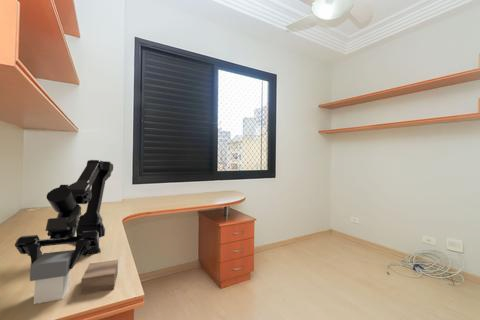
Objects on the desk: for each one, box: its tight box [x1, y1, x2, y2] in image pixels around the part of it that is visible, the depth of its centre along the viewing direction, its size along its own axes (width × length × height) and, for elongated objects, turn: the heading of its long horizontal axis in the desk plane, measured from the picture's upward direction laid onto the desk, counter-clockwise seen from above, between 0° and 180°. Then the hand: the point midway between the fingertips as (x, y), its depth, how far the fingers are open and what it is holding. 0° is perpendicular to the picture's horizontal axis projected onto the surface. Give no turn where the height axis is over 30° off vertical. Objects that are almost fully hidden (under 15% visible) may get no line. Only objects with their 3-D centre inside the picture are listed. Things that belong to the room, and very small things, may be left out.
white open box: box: [33, 270, 71, 305], centre depth 59 cm, size 6×6×10 cm
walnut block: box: [80, 259, 119, 296], centre depth 66 cm, size 10×8×4 cm
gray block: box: [29, 249, 75, 282], centre depth 60 cm, size 8×7×4 cm
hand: (52, 271), depth 58 cm, fingers open, 8 cm apart
